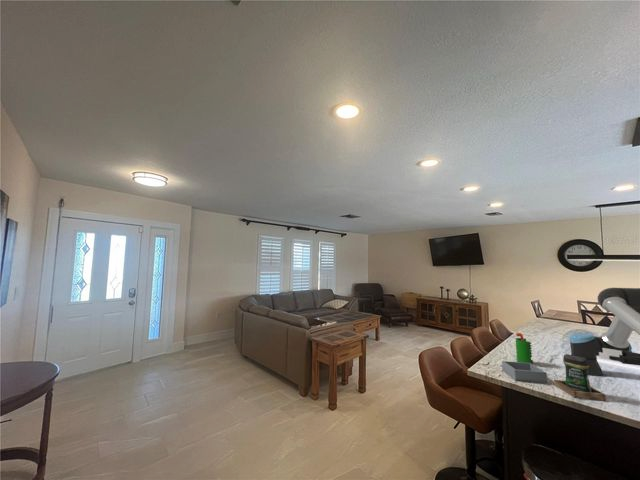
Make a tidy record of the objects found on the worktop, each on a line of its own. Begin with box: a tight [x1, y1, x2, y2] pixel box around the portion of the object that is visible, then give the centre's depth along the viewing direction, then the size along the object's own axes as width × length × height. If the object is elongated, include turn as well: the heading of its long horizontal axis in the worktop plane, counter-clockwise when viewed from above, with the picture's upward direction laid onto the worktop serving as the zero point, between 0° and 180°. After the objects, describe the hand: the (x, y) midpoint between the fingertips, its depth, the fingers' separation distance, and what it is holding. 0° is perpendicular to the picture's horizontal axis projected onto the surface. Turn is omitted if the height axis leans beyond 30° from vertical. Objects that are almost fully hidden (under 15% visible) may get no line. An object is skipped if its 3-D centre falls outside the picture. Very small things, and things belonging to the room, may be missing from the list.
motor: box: [515, 332, 534, 365], centre depth 180 cm, size 10×9×20 cm
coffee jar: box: [562, 354, 592, 392], centre depth 135 cm, size 10×8×19 cm
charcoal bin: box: [501, 360, 548, 384], centre depth 155 cm, size 16×16×6 cm
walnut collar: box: [553, 379, 607, 402], centre depth 134 cm, size 13×15×3 cm
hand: (600, 352), depth 129 cm, fingers open, 13 cm apart
